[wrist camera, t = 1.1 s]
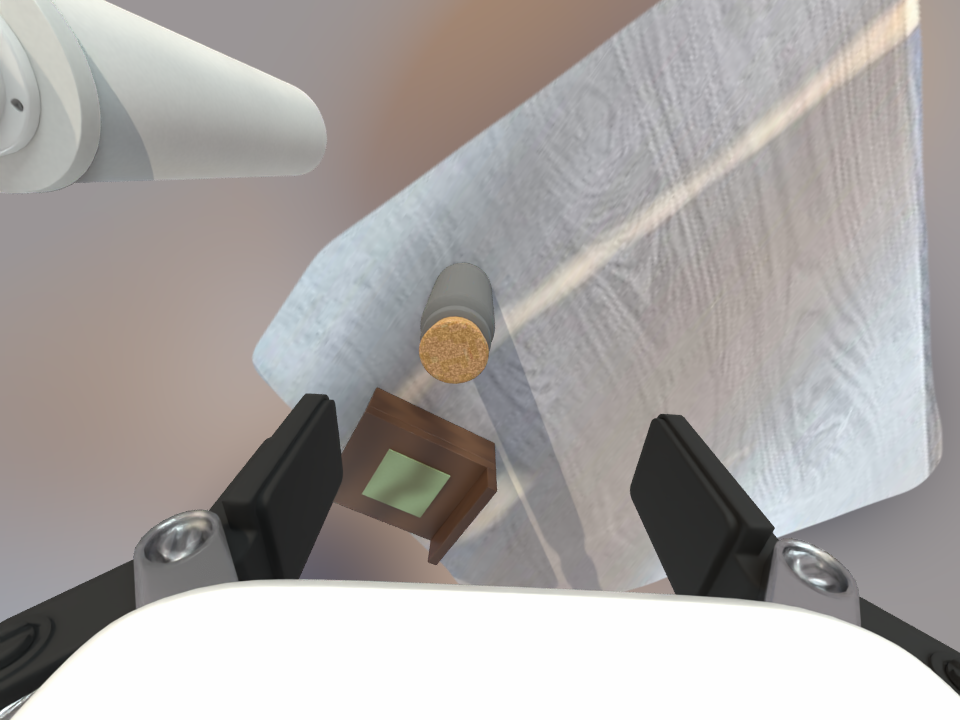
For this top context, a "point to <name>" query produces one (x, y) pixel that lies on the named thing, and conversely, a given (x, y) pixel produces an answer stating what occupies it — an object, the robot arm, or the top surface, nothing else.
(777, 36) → the top surface
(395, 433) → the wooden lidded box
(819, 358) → the top surface
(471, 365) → the bottle
